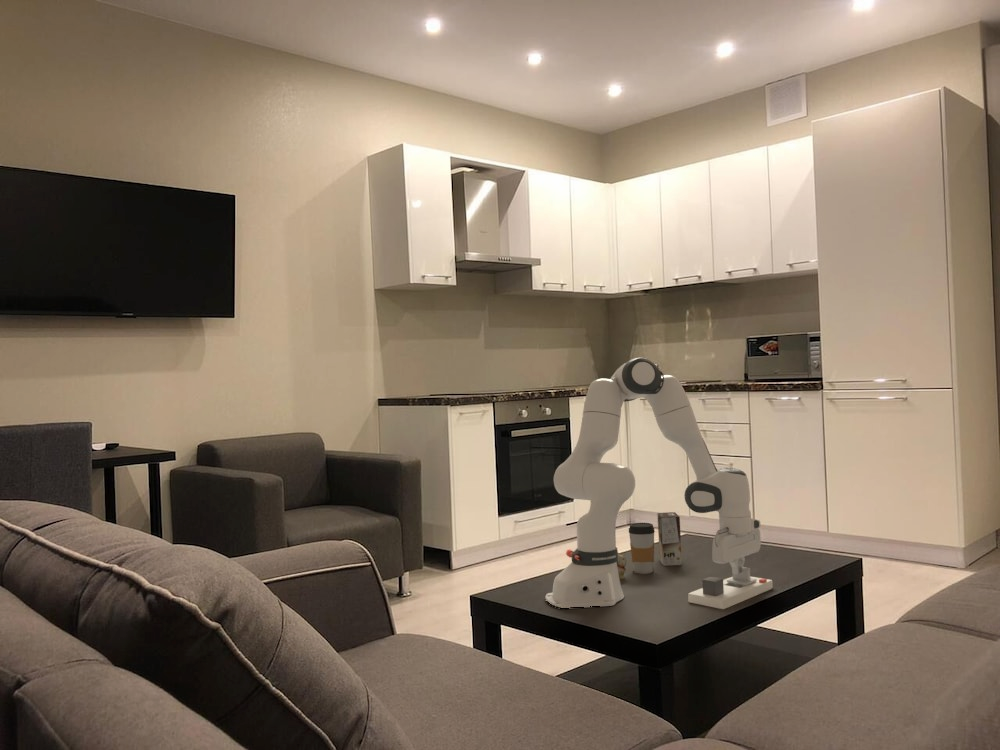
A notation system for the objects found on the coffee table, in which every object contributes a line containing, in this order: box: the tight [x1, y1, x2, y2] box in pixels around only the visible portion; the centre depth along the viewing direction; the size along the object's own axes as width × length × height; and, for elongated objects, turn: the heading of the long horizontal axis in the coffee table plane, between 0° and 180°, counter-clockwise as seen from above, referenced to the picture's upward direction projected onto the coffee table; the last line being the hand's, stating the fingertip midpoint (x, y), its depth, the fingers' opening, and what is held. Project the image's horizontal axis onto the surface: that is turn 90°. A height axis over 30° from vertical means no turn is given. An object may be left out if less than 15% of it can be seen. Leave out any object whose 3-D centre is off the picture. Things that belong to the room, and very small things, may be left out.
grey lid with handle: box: [727, 566, 757, 586], centre depth 233 cm, size 6×6×4 cm
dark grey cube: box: [702, 576, 724, 596], centre depth 223 cm, size 4×4×4 cm
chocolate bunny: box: [618, 552, 628, 581], centre depth 254 cm, size 6×8×10 cm
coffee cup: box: [628, 522, 656, 574], centre depth 261 cm, size 8×8×15 cm
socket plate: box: [687, 575, 774, 610], centre depth 229 cm, size 26×11×3 cm, turn 133°
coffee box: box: [657, 511, 683, 567], centre depth 271 cm, size 9×6×16 cm
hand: (737, 573), depth 232 cm, fingers closed
